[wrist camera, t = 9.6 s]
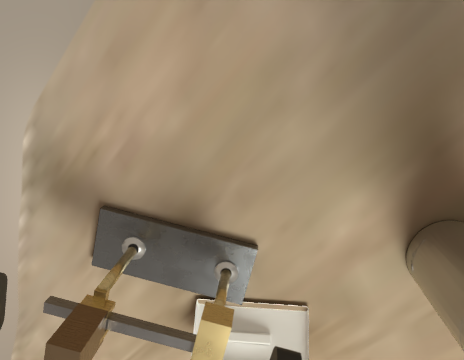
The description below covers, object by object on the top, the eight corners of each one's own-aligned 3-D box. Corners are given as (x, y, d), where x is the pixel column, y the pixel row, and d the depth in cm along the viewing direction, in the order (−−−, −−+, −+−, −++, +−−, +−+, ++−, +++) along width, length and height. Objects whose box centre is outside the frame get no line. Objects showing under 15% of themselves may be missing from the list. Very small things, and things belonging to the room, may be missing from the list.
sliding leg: (144, 250, 49) (82, 339, 33) (137, 284, 50) (75, 386, 34) (120, 243, 49) (47, 330, 33) (114, 278, 50) (41, 377, 34)
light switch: (194, 368, 52) (305, 377, 51) (188, 371, 48) (309, 381, 47) (200, 301, 55) (305, 308, 54) (195, 298, 51) (309, 305, 50)
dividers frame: (240, 266, 49) (231, 327, 37) (231, 300, 50) (219, 370, 39) (96, 228, 49) (42, 277, 38) (90, 263, 51) (37, 321, 39)
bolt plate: (257, 245, 50) (257, 251, 48) (242, 299, 52) (241, 306, 50) (104, 205, 50) (98, 209, 48) (95, 260, 52) (90, 266, 51)
